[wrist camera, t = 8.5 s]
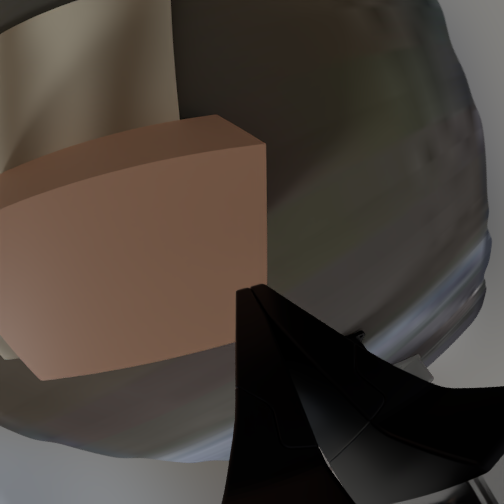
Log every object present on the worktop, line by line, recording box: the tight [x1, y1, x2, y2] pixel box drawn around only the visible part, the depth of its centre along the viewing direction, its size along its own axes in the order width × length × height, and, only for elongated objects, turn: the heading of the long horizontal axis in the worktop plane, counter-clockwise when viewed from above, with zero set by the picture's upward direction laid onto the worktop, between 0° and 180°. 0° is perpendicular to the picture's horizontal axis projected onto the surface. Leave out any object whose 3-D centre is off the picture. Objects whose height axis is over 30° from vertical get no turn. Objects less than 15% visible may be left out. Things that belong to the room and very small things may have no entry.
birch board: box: [0, 0, 180, 360], centre depth 11 cm, size 18×20×1 cm
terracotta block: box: [0, 114, 267, 381], centre depth 11 cm, size 6×8×11 cm
